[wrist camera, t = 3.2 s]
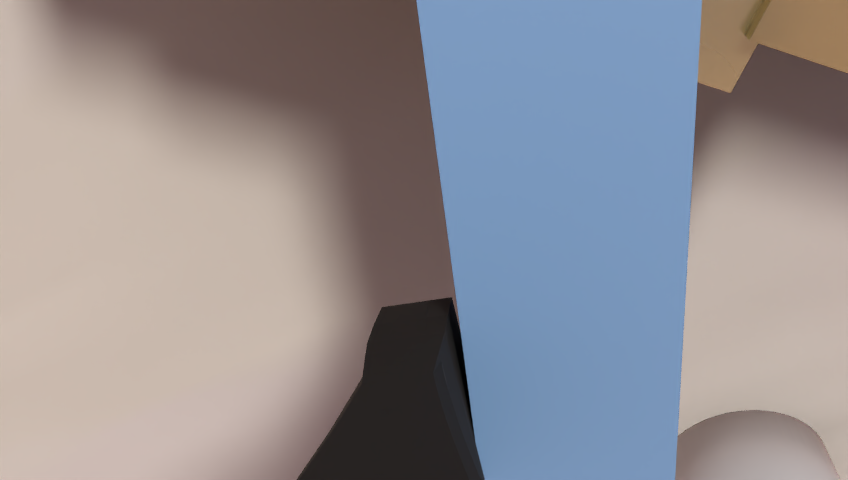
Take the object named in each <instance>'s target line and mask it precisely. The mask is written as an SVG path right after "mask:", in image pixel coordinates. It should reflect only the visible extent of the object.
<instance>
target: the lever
mask: <svg viewBox="0 0 848 480" xmlns="http://www.w3.org/2000/svg"><path fill="white" fill-rule="evenodd" d="M416 2H417V9H418V17H419V24H420V32H421V39H422V46H423V54H424V61H425V69H426V76H427V84H428V91H429V99H430V106H431V114H432V121H433V129H434V136H435V144H436V151H437V159H438V166H439V174H440V181H441V189H442V196H443V203H444V211H445V218H446V226H447V233H448V241H449V248H450V256H451V263H452V271H453V278H454V286H455V293H456V301H457V308H458V316H459V323H460V331H461V338H462V346H463V353H464V360H465V368H466V375H467V383H468V390H469V398H470V405H471V413H472V420H473V428H474V435H475V443H476V447H477V451H478V455H479V458H480V462H481V466H482V470H483V474H484V478H485V480H675V473H676V455H677V437H678V419H679V401H680V384H681V366H682V348H683V330H684V312H685V295H686V277H687V259H688V241H689V223H690V206H691V188H692V170H693V152H694V134H695V117H696V99H697V81H698V63H699V45H700V28H701V10H702V0H416Z"/></svg>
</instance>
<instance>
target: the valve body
mask: <svg viewBox="0 0 848 480" xmlns="http://www.w3.org/2000/svg"><path fill="white" fill-rule="evenodd" d="M758 44H761V45H764V46H767V47H770V48H773V49H776V50H779V51H782V52H785V53H788V54H791V55H794V56H797V57H800V58H803V59H806V60H809V61H812V62H815V63H818V64H821V65H824V66H827V67H830V68H833V69H836V70H839V71H842V72H845V73H848V0H702V10H701V28H700V45H699V63H698V81H697V82H698V83H701V84H704V85H707V86H710V87H713V88H716V89H719V90H722V91H725V92H728V93H731V91H732V90H733V88H734V86H735V84H736V82H737V81H738V79H739V77H740V75H741V73H742V72H743V70H744V68H745V66H746V64H747V63H748V61H749V59H750V57H751V55H752V54H753V52H754V50H755V48H756V46H757V45H758Z"/></svg>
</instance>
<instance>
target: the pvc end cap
mask: <svg viewBox="0 0 848 480" xmlns="http://www.w3.org/2000/svg"><path fill="white" fill-rule="evenodd" d="M675 480H841V479H840V477H839V475H838V473H837V471H836V469H835V467H834V465H833V462H832V460H831V458H830V456H829V454H828V452H827V450H826V448H825V446H824V444H823V442H822V440H821V438H820V437H819V435H818V434H817V433H816V432H815V431H814V430H813V429H812V428H811V427H809V426H808V425H807V424H805V423H804V422H802V421H800V420H798V419H796V418H794V417H791V416H788V415H785V414H781V413H776V412H770V411H760V410H748V411H737V412H731V413H725V414H722V415H718V416H714V417H712V418H709V419H706V420H704V421H701V422H699V423H697V424H695V425H693V426H692V427H690V428H688V429H687V430H685V431H684V432H683V433H681V434H680V435H679V436H678V437H677V455H676V473H675Z"/></svg>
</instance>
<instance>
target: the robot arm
mask: <svg viewBox="0 0 848 480" xmlns="http://www.w3.org/2000/svg"><path fill="white" fill-rule="evenodd" d="M297 480H485V478H484V474H483V470H482V466H481V462H480V458H479V455H478V451H477V447H476V443H475V435H474V428H473V420H472V413H471V405H470V398H469V390H468V383H467V375H466V368H465V360H464V353H463V346H462V338H461V333H460V329H459V325H458V321H457V317H456V313H455V309H454V304H453V300H452V298H444V299H437V300H430V301H423V302H416V303H409V304H402V305H395V306H388V307H382V309H381V311H380V313H379V315H378V317H377V319H376V322H375V324H374V326H373V329H372V332H371V335H370V337H369V340H368V343H367V349H366V355H365V363H364V370H363V377H362V379H361V381H360V383H359V384H358V386H357V388H356V389H355V391H354V392H353V394H352V396H351V397H350V399H349V401H348V402H347V404H346V406H345V407H344V409H343V411H342V412H341V414H340V415H339V417H338V419H337V420H336V422H335V424H334V425H333V427H332V428H331V430H330V432H329V433H328V435H327V436H326V438H325V439H324V441H323V442H322V444H321V445H320V447H319V448H318V449H317V451H316V452H315V454H314V455H313V457H312V458H311V460H310V461H309V463H308V464H307V465H306V467H305V468H304V470H303V471H302V473H301V474H300V476H299V477H298V479H297Z"/></svg>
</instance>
